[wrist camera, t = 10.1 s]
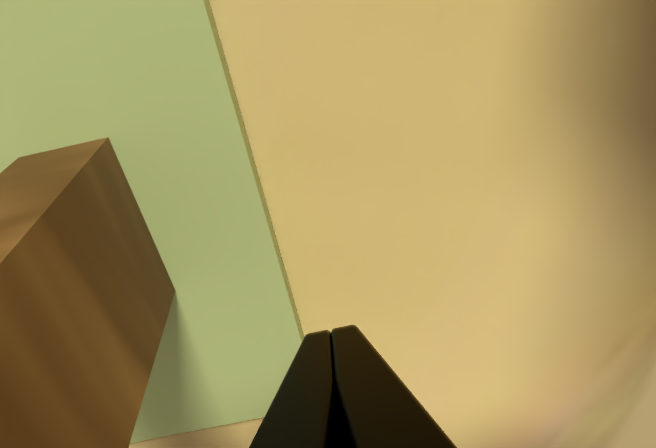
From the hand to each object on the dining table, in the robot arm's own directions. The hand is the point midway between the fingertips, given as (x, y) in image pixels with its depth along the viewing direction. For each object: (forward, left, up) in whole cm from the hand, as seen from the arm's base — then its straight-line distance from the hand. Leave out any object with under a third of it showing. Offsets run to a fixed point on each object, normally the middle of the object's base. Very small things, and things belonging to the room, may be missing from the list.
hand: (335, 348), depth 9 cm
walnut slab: (+6, 0, -7) cm, 9 cm away
